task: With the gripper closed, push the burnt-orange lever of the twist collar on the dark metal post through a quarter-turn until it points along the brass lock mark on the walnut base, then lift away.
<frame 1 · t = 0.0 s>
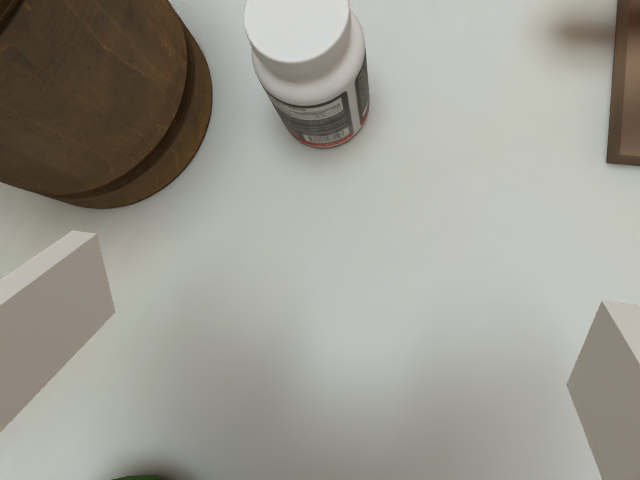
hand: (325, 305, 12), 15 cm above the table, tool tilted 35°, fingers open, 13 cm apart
wooden container: (113, 106, 31), on the table
pill bottle: (325, 109, 29), on the table
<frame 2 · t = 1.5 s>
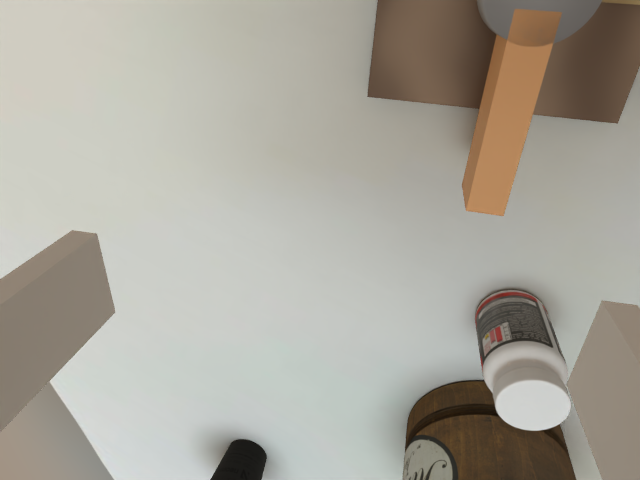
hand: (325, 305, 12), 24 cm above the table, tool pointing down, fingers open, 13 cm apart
drinking cup: (248, 451, 55), on the table
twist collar: (511, 80, 23), point 7 cm above the table, hinge at 0.0°
wooden container: (480, 432, 46), on the table
pill bottle: (509, 313, 38), on the table
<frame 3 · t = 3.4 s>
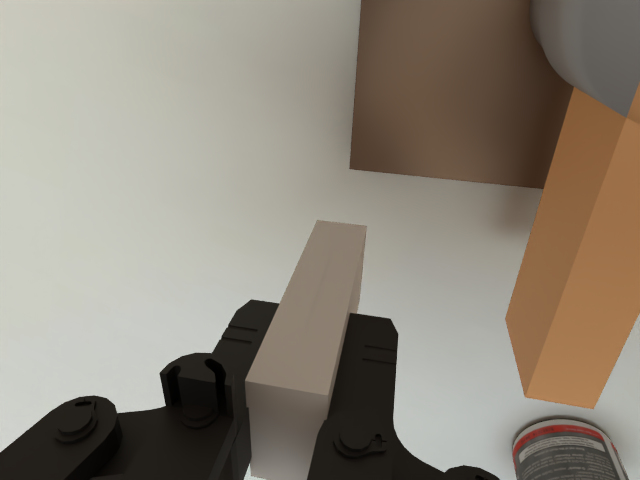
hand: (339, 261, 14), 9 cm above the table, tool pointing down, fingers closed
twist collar: (611, 175, 12), point 7 cm above the table, hinge at 0.0°
pill bottle: (559, 445, 28), on the table
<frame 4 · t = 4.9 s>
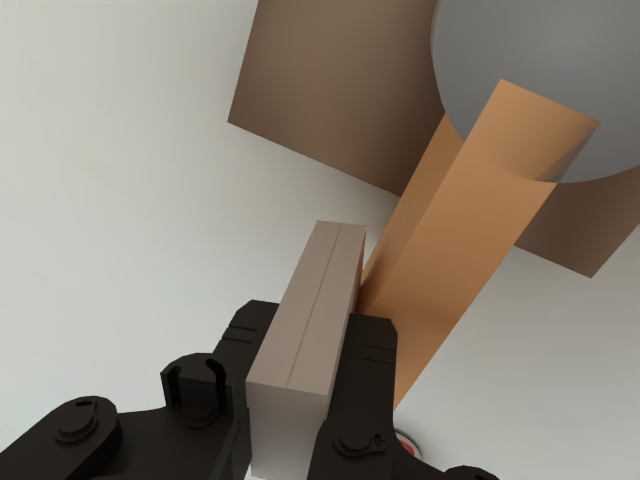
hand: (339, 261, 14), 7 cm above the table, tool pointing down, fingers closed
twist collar: (454, 204, 11), point 7 cm above the table, hinge at 0.0°, touching gripper
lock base: (499, 18, 16), on the table
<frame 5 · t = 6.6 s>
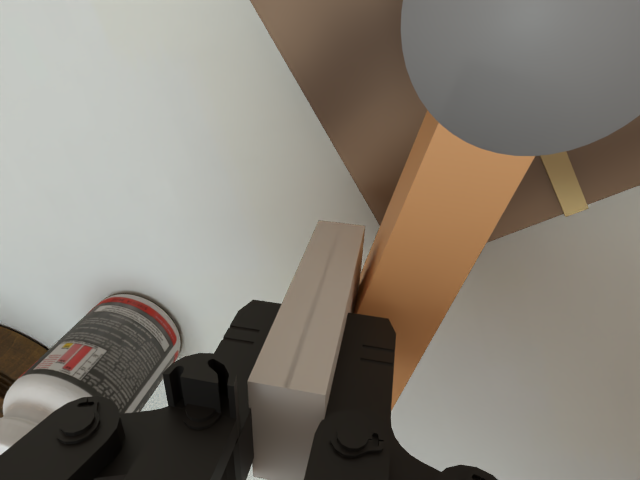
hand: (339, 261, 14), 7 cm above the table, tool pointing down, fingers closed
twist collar: (443, 188, 12), point 7 cm above the table, hinge at 42.5°, touching gripper
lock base: (487, 6, 16), on the table
wooden container: (19, 394, 34), on the table
pill bottle: (142, 326, 28), on the table
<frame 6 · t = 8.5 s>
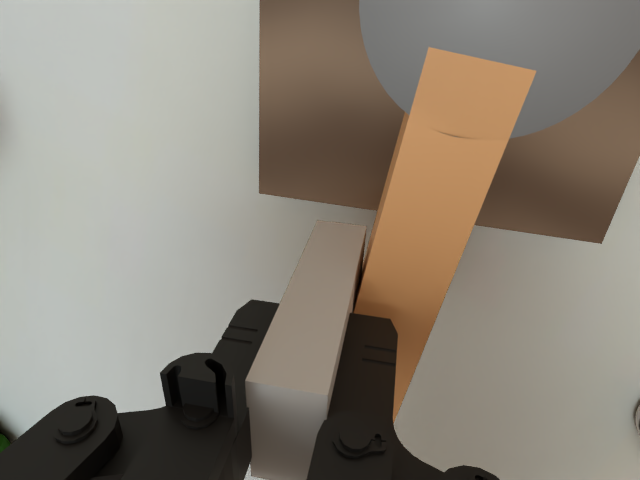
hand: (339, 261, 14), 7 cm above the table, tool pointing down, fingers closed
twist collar: (428, 181, 12), point 7 cm above the table, hinge at 83.5°, touching gripper
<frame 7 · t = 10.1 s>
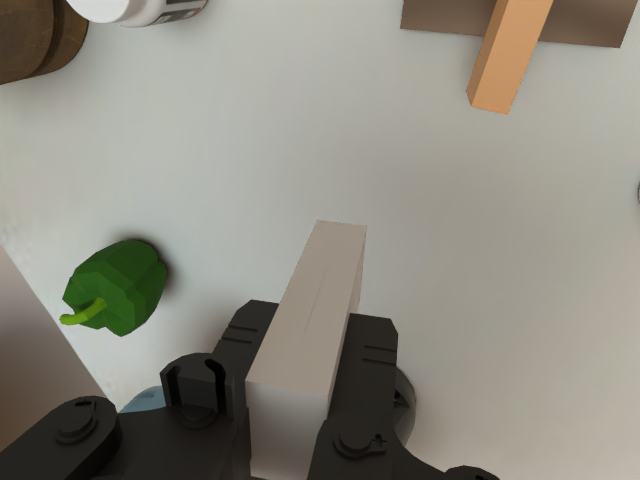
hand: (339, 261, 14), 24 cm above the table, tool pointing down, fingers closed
bell pepper: (143, 260, 49), on the table
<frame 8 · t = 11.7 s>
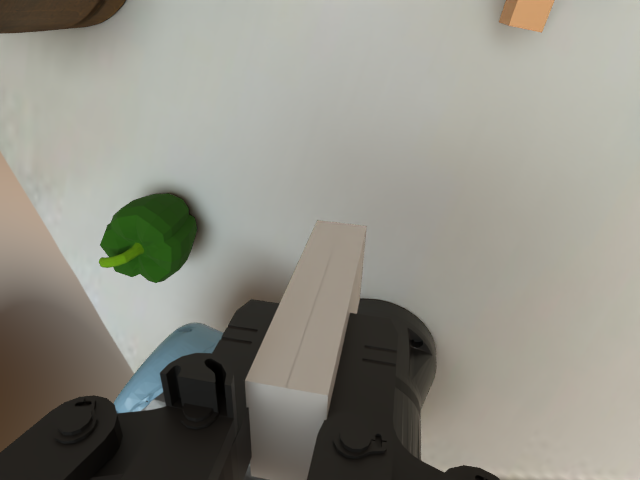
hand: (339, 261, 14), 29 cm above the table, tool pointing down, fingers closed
bell pepper: (174, 215, 50), on the table
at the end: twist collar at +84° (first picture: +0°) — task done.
